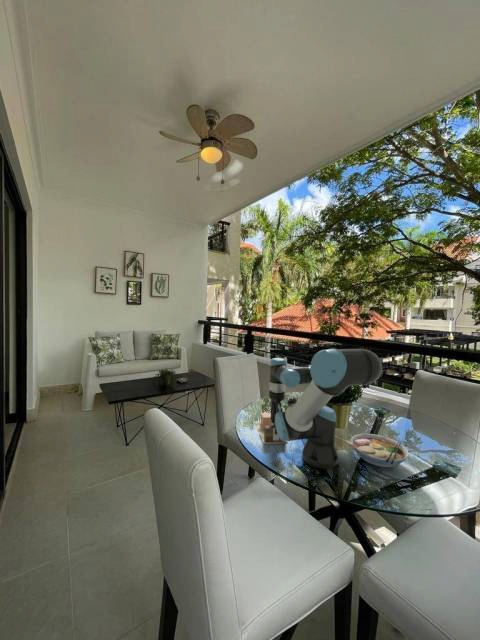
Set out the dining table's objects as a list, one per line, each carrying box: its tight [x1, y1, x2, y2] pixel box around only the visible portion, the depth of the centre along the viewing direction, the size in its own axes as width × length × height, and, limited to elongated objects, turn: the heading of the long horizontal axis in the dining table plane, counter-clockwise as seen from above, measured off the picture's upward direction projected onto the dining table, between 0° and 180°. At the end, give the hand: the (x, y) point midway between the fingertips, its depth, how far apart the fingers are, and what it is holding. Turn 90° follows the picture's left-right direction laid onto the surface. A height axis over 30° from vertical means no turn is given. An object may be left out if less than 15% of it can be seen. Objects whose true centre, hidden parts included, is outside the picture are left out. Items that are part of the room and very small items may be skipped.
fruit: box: [286, 397, 298, 408], centre depth 180 cm, size 9×8×15 cm
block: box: [260, 412, 272, 429], centre depth 157 cm, size 6×6×6 cm
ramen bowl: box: [350, 433, 410, 468], centre depth 126 cm, size 25×23×8 cm
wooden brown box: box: [254, 420, 289, 445], centre depth 151 cm, size 24×12×8 cm, turn 8°
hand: (274, 437), depth 141 cm, fingers closed on wooden brown box, 3 cm apart
